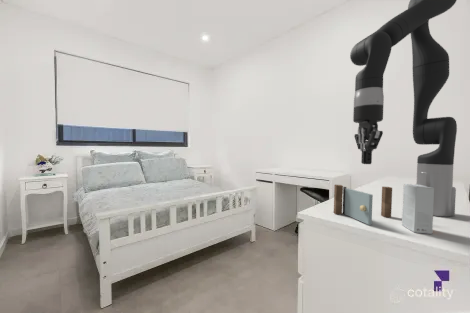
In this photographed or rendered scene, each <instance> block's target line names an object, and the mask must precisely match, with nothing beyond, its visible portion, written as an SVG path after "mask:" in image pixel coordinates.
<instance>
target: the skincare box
mask: <svg viewBox="0 0 470 313" xmlns="http://www.w3.org/2000/svg"><path fill="white" fill-rule="evenodd" d="M402 189H403V190H402V191H403V192H402V212H401V213H402V214H401V226H402V227H404V228H407V229H408V230H409V231H411V232H413V233H414V234H415V233H416V234H417V233H418V234H428V235H432V234H433V228H434V226H433V224H434V223H433V222H434V215H433V204H434V188H432V187H427V186H423V185H416V184H412V183H410V184H409V183H403V188H402Z"/></svg>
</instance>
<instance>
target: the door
mask: <svg viewBox="0 0 470 313" xmlns="http://www.w3.org/2000/svg"><path fill="white" fill-rule="evenodd" d="M373 196H374V195H373V194H371V193H368V192H364V191H359V190H356V189H352V188H348V187H346V189H345V214H344V215H346V216H348V217H351V218H353V219H355V220H357V221H359V222H362V223H364V224H366V225H368V226H369V225H372V223H373Z"/></svg>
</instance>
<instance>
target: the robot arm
mask: <svg viewBox="0 0 470 313" xmlns="http://www.w3.org/2000/svg"><path fill="white" fill-rule="evenodd" d="M456 3H457V0H410V1H409V2H408V6H407V9H405V10H403V11H402V12H401V13H399V14H398V15H396V16H394V17H393V18H391V19H390V20H388V21H387V22H386V23H384V24H383V25H382V26H380V27H379V28H378V29H377V30H375V31H374V32H373V33H371V34H370V35H368V36H366V37H365V38H363V39H362V40H360V41H358V42H357V43H356V44H354V46H353V47H352V48H351V51H350V57H349V58H350V61H351V63H352V64H354V65H355V66H359V67H362V66H364V67H363V68H362V69H360V71H359V72H357V73H356V75H355V83H354V85H355V86H354V97H353V114H352V115H353V117H352V120H353V123H356V124H358V128H357V133H355V134H354V135H353V136H354V139H355V142H356V146H357V149H358V150H360V152H361V161H360V162H361V164H362V165H363V164H364V165H372V163H373V162H372V159H373V151H374V150H376V149H377V148H378V147H379V144H380V142H381V139H382V137H383V135H384V134H383V133H384V132H383V130H379V129H378V128H379V124H378V123H379V122H382V121H383V120H384V98H385V97H384V75H385V74H384V73H385V71H386V67H387V64H388V62H389V59H390V55H391V53H392V48H393V47H395V46H397V45H398V43H400V42H401V41H402V40H403V39H405V38H406V37H407V36H410V39H411V40H410V41H411V52H412V83H413V85H412V87H413V114H412V116H413V117H412V136H413V137H412V138H413V141H414V142H415V144H417V145H424V146H425V145H438V148H436V149H435V150H433V151H430V152H427V153H424V154H420V155H418V157H417V162H416V164H417V165H416V183H415V185H423V186H427V187H432V188H434V204H433V217H434V216H435V217H446V218H447V217H455V215H456V199H457V198H456V195H457V194H456V193H457V192H456V191H457V188H456V187H454V185H453V182H454V164H455V163H454V162H455V161H454V160H455V148H456V138H457V131H458V128H457V127H458V125H457V120H456V119H455V117H452V116H442V117H441V116H440V117H431V118H428V114H429V110H430V108H431V105H432V103H433V101H434V100H435V99H436V97H437V95H438V94H439V93H440V91H441V90H442V89H443V87H444V85H445V84H446V83H447V81H448V79H449V77H450V56H449V53H448V52H447V50H446V49H445V48H444V47H443V46H442V45H441V44H440V43H439V42H437V41H436V39H434V38H433V36H432V34H431V32H430V31H431V30H430V27H429V21H430V20H431V19H434V18H435V17H438V16H440V15H442V14H443V13H445V12H447V11H449V10H451V9H452V7H453V6H454V5H456Z"/></svg>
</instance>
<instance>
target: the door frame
mask: <svg viewBox="0 0 470 313" xmlns="http://www.w3.org/2000/svg"><path fill="white" fill-rule="evenodd" d="M333 188H334V190H333V191H334V192H333V214H335V215H339V214H341V216H342V215H346V214H345V189H346V188H347V186H343V185H342V184H334V187H333ZM380 204H381V205H380V206H381V208H380V216H382V217H383V218H392V209H393V208H392V207H393V206H392V204H393V187H390V186H381V203H380Z"/></svg>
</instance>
